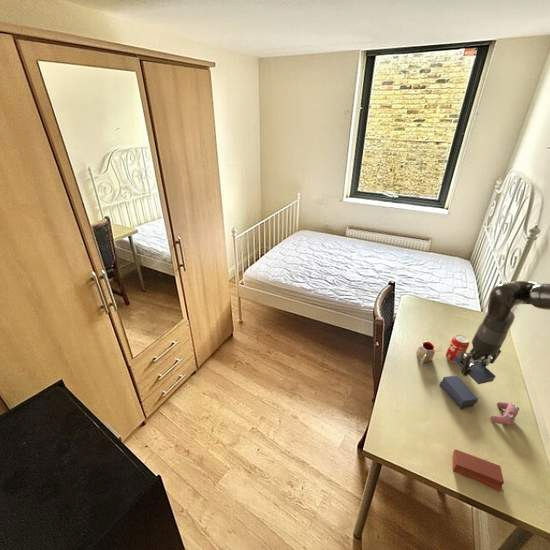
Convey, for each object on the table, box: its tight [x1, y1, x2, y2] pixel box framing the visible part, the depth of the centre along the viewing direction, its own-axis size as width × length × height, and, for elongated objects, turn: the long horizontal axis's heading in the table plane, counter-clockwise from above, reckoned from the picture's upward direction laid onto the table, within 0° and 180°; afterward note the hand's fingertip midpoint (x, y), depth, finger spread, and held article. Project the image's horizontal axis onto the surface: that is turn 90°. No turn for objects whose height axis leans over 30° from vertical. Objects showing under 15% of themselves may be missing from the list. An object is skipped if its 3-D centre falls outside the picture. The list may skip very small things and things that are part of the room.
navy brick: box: [439, 375, 479, 410], centre depth 111 cm, size 12×7×5 cm, turn 13°
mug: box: [416, 341, 436, 366], centre depth 127 cm, size 12×7×7 cm, turn 142°
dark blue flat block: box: [454, 354, 496, 385], centre depth 101 cm, size 11×6×2 cm, turn 14°
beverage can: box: [445, 334, 470, 364], centre depth 126 cm, size 6×6×12 cm
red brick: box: [452, 448, 505, 492], centre depth 87 cm, size 12×6×4 cm, turn 63°
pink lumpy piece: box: [489, 401, 520, 425], centre depth 103 cm, size 10×5×7 cm, turn 133°
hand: (471, 372), depth 103 cm, fingers closed on dark blue flat block, 6 cm apart
